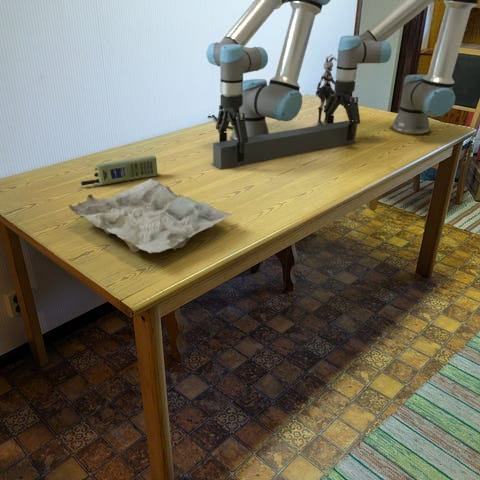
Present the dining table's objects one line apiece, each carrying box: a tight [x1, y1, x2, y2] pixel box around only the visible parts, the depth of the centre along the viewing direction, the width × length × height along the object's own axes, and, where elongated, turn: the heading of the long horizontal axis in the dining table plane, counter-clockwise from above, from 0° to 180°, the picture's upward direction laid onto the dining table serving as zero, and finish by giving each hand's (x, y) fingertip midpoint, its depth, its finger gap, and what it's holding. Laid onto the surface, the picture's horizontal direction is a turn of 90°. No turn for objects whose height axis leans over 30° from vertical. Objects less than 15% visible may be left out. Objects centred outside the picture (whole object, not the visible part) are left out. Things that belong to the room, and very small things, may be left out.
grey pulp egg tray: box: [68, 178, 232, 254], centre depth 138 cm, size 38×6×30 cm
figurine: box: [315, 53, 338, 126], centre depth 218 cm, size 15×6×30 cm, turn 132°
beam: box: [212, 120, 358, 170], centre depth 190 cm, size 61×6×8 cm, turn 119°
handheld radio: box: [80, 155, 159, 187], centre depth 164 cm, size 7×3×25 cm
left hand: (231, 155), depth 180 cm, fingers open, 12 cm apart
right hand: (339, 136), depth 201 cm, fingers open, 12 cm apart
